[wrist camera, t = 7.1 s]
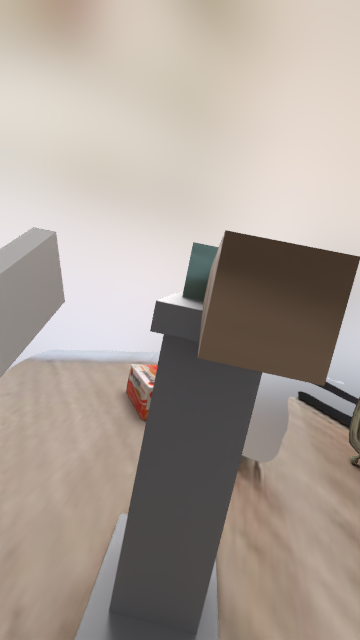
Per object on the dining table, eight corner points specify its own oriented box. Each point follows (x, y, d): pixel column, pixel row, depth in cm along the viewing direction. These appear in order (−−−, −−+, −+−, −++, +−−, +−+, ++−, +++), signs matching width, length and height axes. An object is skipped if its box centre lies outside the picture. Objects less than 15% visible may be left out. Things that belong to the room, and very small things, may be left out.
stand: (216, 719, 23) (322, 335, 19) (64, 676, 24) (133, 295, 19) (212, 540, 39) (268, 310, 34) (121, 517, 39) (165, 289, 35)
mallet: (412, 404, 7) (486, 179, 6) (116, 339, 7) (155, 120, 7) (249, 307, 33) (260, 261, 32) (185, 294, 33) (195, 248, 32)
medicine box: (125, 392, 79) (130, 362, 78) (154, 392, 82) (159, 364, 81) (142, 421, 66) (148, 386, 64) (176, 420, 69) (183, 387, 68)
